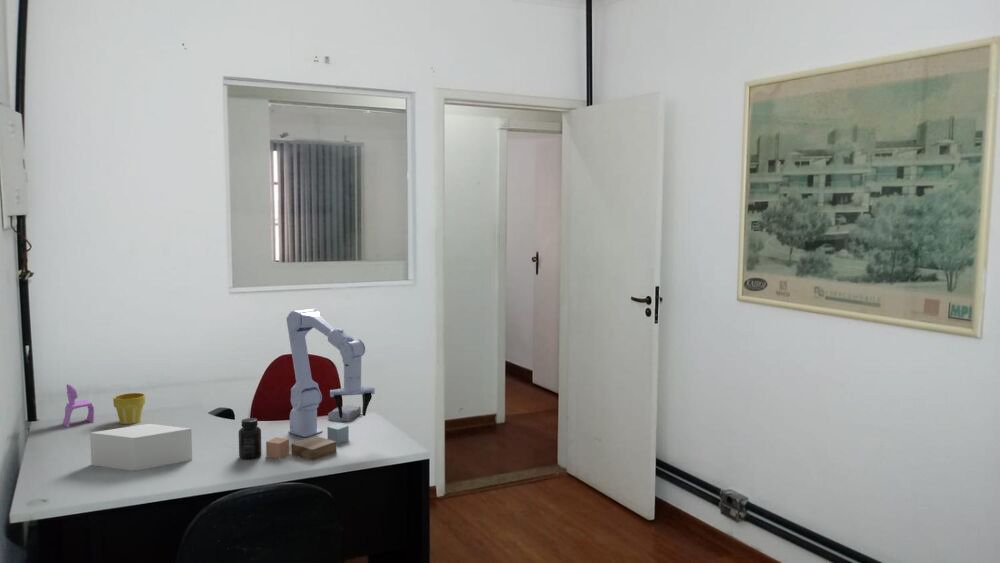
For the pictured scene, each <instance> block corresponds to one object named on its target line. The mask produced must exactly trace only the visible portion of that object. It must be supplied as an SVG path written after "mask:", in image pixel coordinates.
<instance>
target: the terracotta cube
mask: <svg viewBox="0 0 1000 563" xmlns="http://www.w3.org/2000/svg"><path fill="white" fill-rule="evenodd" d="M265 445H266V446H265V447H266V450H265V452H266V454H265V455H266V457H267V458H271V457H272V459H279V458H280V459H282V458H284V457H286V456H288V455H290V439H289V438H285V437H278V436H276V437H273V438H272V439H269V440H267V441H266V442H265ZM280 459H279V460H280Z"/></svg>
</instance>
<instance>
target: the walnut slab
mask: <svg viewBox="0 0 1000 563" xmlns="http://www.w3.org/2000/svg"><path fill="white" fill-rule="evenodd" d="M336 452H337V443H336V441H332V440H329V439H328V438H325V437H322V436H321V437H320V436H316V435H313V436H311V437H307V438H305V439H302V440H299V441H295V442H293V443H291V455H292V456H294V457H299V458H301V459H305V460H308V461H311V462H314V461H317V460H319V459H322V458H325V457H328V456H332V455H333V454H336Z"/></svg>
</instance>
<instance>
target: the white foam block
mask: <svg viewBox="0 0 1000 563" xmlns="http://www.w3.org/2000/svg"><path fill="white" fill-rule="evenodd" d="M89 436H90V437H89V439H90V459H91V460H90V465H91V466H98V467H105V468H114V469H120V470H126V471H133V472H136V471H141V470H145V469H150V468H156V467H157V468H158V467H162V466H166V465H173V464H178V463H183V462H188V461H192V460H193V443H192V442H193V441H192V428H189V427H188V428H187V427H179V426H173V425H172V426H170V425H162V424H154V423H145V424H138V425H132V426H126V427H119V428H113V429H105V430H98V431H93V432H92V431H91V432H90V433H89Z"/></svg>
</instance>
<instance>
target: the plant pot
mask: <svg viewBox="0 0 1000 563" xmlns="http://www.w3.org/2000/svg"><path fill="white" fill-rule="evenodd" d="M112 400H113V402H112V403H113V407H114V408H115V409H116V412H117V416H118V417H117V418H118V419H119V423H120V424H122V425H133V424H137V423H139V422H141V420H142V415H143V409H144V405H145V404H146V394H145V393H143V392H128V393H122V394H118V395H115V396H114V397H113V398H112Z"/></svg>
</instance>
